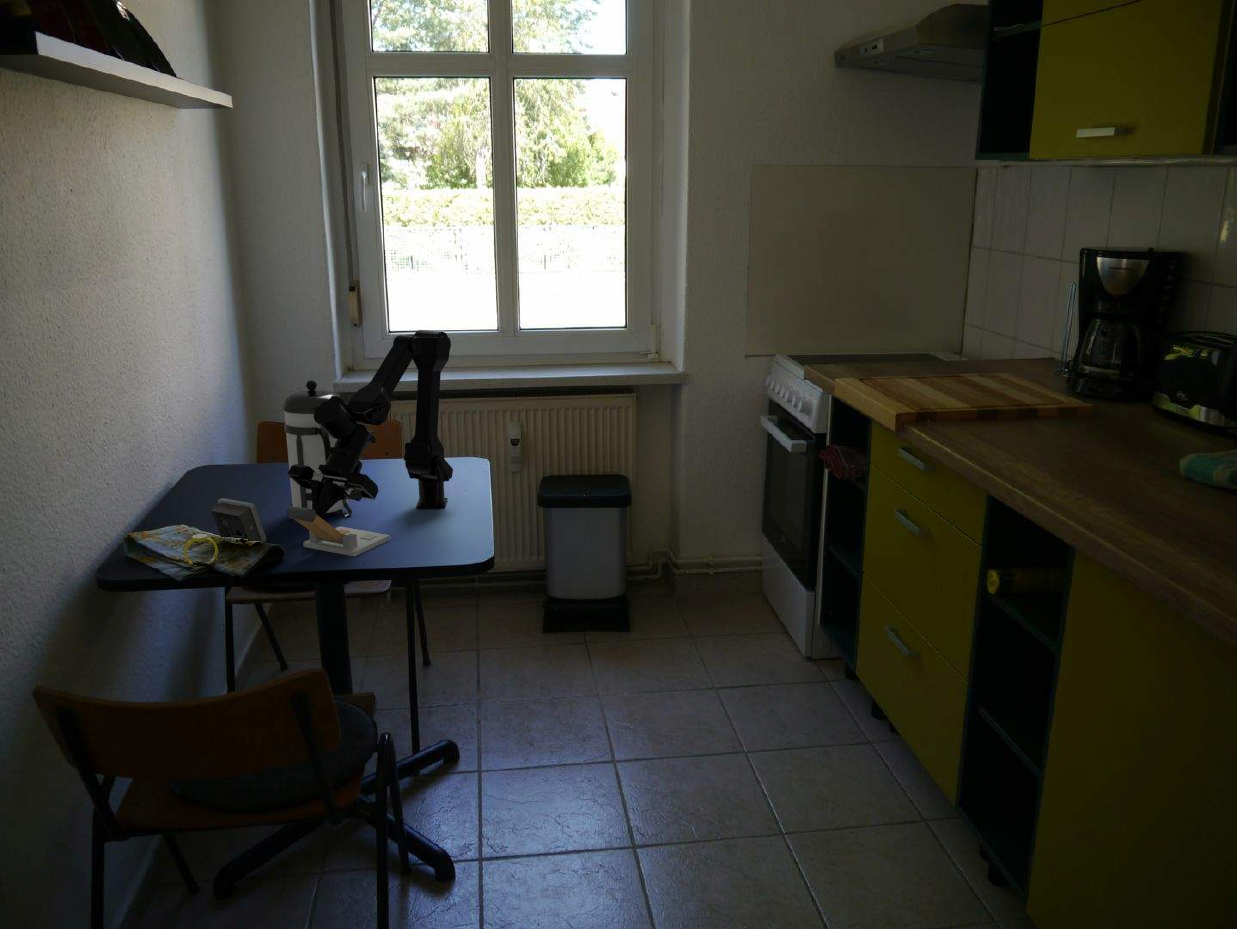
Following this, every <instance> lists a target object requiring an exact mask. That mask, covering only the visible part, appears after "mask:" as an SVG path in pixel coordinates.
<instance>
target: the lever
mask: <svg viewBox="0 0 1237 929" xmlns="http://www.w3.org/2000/svg"><path fill="white" fill-rule="evenodd" d="M285 514H286V515H285V516H286V517H287V518H288V519H293V520H294V521H295V522H297V523H298V524H300V525H301V526H302V527H304V528H305V529H306V530H308V532H309V531H311V532H312V533H314V534H315V535H316V536H318V539H319V540H321V541H327V542H332V543H338V544H343V537H344V536H346V535H345V534H342V533H340V532H339V531H338V530H336V529H335V528H336V527H334V526H332V525H331V524H330V523H328V522H327V521H326V520H325V519H323V518H322V517H321V518H320V517H319V516H318V515H317V514H316V512H315V510H313V509H307V508H301V507H295V506H291V505H289V506H288V507H287V508H286V513H285Z"/></svg>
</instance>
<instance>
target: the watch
mask: <svg viewBox="0 0 1237 929" xmlns="http://www.w3.org/2000/svg"><path fill="white" fill-rule="evenodd" d="M204 541H208V542H211V544H213V545H214V553H213V556H212V557H214V558H216V559H217V558H218V555H219V549H218V545H217V543H216V542H215V541H214V540H213V539H212V538H211V537H210V536H208V534H207V533H197V534H194V535H192V536H191V539H189V540H188V541H186V543H185V545H184V547H183V556H184V559H185V561H186V562H187V563H188V564H189V565H190V566H192V565H191V564H193V563H194V562H193V561H191V560H190V559H189V557H188V550H189V547H190V546H191V545H192V544H193V543H194V542H204ZM192 562H193V563H192Z"/></svg>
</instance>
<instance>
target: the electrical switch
mask: <svg viewBox="0 0 1237 929" xmlns="http://www.w3.org/2000/svg"><path fill="white" fill-rule="evenodd" d="M217 503H218V505H216V506H215V507H214V508H213V509H211V510H210V512H211V514H212V517H213V521H214V522H215V525H216V528H217V530H218V533H219V536H220V538H221V537H234V538H244V539H248V541H261V542H264V543H265V542H266V541H267V537H266V533H265V530H264V528H263V525H262V522H261V519H260V517H259V514H258V511H257V508H256V505H255V504H254V503H251V502H247V501H240V500H235V499H230V498H224V497H221V498H219V499H217Z"/></svg>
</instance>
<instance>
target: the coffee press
mask: <svg viewBox="0 0 1237 929" xmlns="http://www.w3.org/2000/svg"><path fill="white" fill-rule="evenodd" d="M317 386H318V384H317V382H316V381H315V380H313V379H310V380H308V381H307V382H306V385H305V387H306V388H307V389H306V390H300V391H296V392H293V393H291V394H289V395H287V397H285V399H284V402H283V404H282V405H281V410H282V412H284V414H283V415H284V422H283V423H284V432H285V436H286V446H287V457H288V458H287V460H288V468H289V470H290V468H291V466H292V465H295V464H299V465H305V466H310V467H311V468H312V469H313V470H314V471H315V472H316V473H321V471H320V470H319V469H318V468H319V465H320V464H321V465H325V463H326V461H327V459H328V457H329V455H330V454H329V453H328V452H327V449H328V447H334V445H335V443H336V441H337V439H334V438H332V437H331V436H330V435H329V434H328V433H327V432H326V431H325V430H324V429H323V428H322V427H321V426H320V425H319V424H318V423H317V422H316V421H315V420H314V412H315V410H316V408H317V407H319V406H320V405H321V404H322V403H324V402H325V401H328V400H330V398H331V396H339V394H338V393H336V392H334V391H331V390H326V389H325V390H324V389H317V388H318V387H317ZM289 470H288V471H289ZM289 481H290V483H289V484H290V492H291V502H292V504H291V505H290V506H295V507H301V508H307V509H312V492H311V490H310V489H305V488H302V487H301V486H300V485H298V484H297V483H296V482H295V481H294V480H293V479H291V478H290V477H289ZM348 503H349V500H347V499H343V500H340V501H338V502H337V503H336V504H334V505H333V506H332V507H331V508H330V509H329V510H328V511H327V512H326V513H325V514H331V513H334V512H338V513H340V514H342V516H343V517H345V518H348V517H349V516H351V515H352V514H353V510H352V509H351V507H350V506H349V504H348ZM344 509H345V510H346V511H345V510H344Z"/></svg>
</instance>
